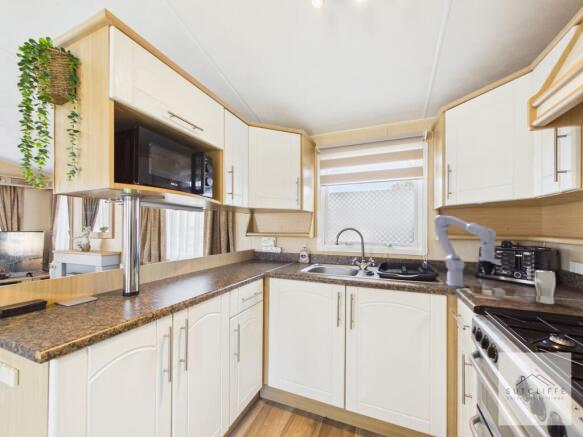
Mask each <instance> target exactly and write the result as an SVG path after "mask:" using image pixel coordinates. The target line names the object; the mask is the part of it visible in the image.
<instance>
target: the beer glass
mask: <svg viewBox="0 0 583 437" xmlns="http://www.w3.org/2000/svg"><path fill="white" fill-rule="evenodd" d="M533 279H534V286H535V289H536V295H537V296H536V298H535V301H536V302H537V303H542V304H547V305H548V304H549V305H555V300H554V292H555V288H556V274H555V271H550V270H540V269H537V270H536V269H535V270H534V278H533Z"/></svg>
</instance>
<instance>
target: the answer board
mask: <svg viewBox="0 0 583 437" xmlns="http://www.w3.org/2000/svg"><path fill="white" fill-rule="evenodd" d="M462 290H464V291H465V292H467V293H469V294H470V295H471V296H473V297H474V298H477V299H487V300H498V301H499V300H500V301H510V302H518V303H519V302H520V303H521V302H522V303H530V301H529V300H527V299H525V298H523V297H520V296H518V295H517V294H515V296H505V299H499V298H494V297H493V296H492V289H483V288H482V294H480V293H473V292H471V291H470V288H467V287H462Z"/></svg>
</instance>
